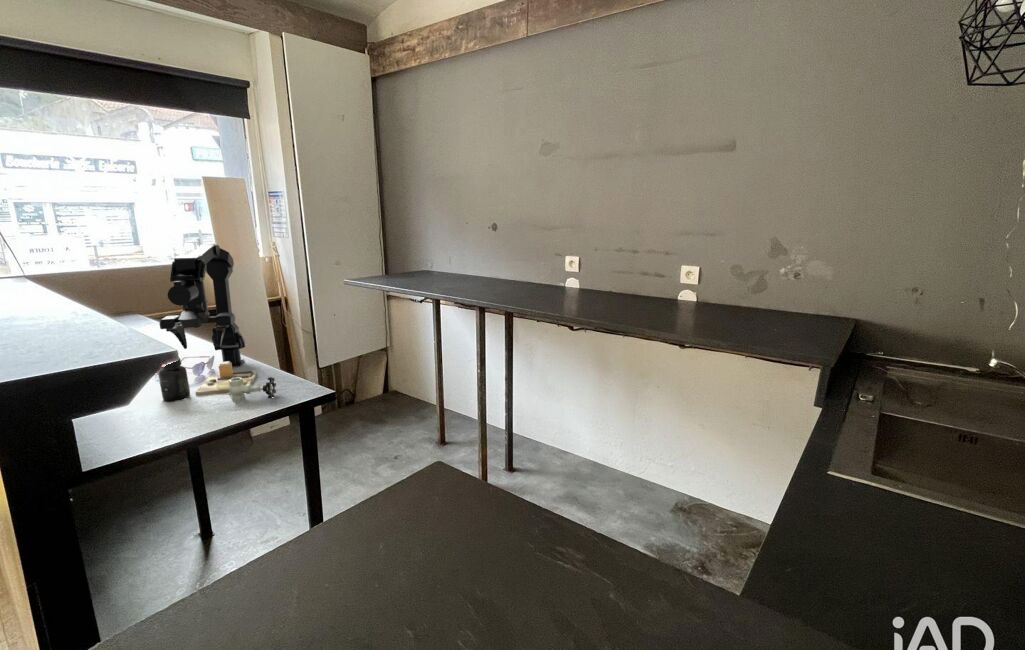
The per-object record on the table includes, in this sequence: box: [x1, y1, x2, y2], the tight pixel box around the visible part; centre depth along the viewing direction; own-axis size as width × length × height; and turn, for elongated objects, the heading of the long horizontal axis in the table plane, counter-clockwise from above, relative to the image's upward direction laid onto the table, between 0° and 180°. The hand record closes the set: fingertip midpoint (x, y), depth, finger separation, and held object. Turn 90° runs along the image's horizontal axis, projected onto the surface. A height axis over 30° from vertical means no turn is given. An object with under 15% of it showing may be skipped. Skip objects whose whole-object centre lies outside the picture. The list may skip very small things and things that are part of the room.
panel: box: [194, 370, 258, 397], centre depth 155 cm, size 16×14×2 cm
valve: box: [228, 376, 277, 403], centre depth 143 cm, size 7×7×12 cm
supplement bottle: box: [157, 357, 191, 403], centre depth 143 cm, size 7×7×12 cm
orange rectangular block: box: [218, 361, 234, 377], centre depth 158 cm, size 3×3×5 cm
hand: (202, 347), depth 149 cm, fingers open, 9 cm apart
